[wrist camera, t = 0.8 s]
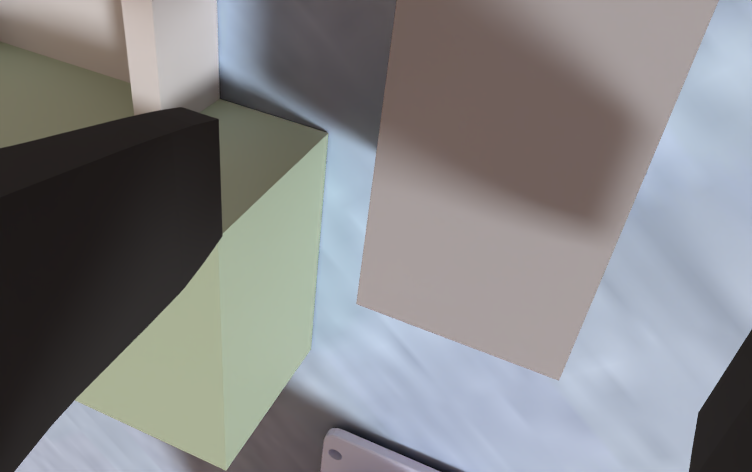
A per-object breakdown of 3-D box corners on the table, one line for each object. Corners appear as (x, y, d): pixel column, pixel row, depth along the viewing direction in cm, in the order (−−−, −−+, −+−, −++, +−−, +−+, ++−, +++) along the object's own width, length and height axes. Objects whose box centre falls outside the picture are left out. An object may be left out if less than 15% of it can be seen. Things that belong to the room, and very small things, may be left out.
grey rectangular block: (597, 233, 16) (558, 380, 12) (437, 182, 17) (356, 303, 13) (723, -87, 12) (723, -12, 8) (500, -131, 13) (407, -82, 9)
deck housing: (311, 349, 22) (225, 470, 18) (-24, 214, 26) (-153, 293, 22) (369, -384, 11) (195, -453, 8) (-223, -449, 15) (-549, -520, 11)
